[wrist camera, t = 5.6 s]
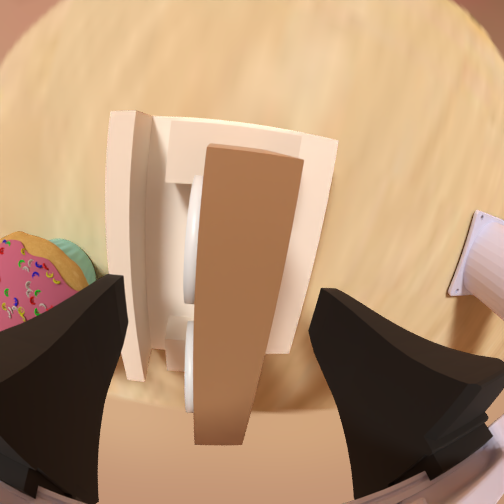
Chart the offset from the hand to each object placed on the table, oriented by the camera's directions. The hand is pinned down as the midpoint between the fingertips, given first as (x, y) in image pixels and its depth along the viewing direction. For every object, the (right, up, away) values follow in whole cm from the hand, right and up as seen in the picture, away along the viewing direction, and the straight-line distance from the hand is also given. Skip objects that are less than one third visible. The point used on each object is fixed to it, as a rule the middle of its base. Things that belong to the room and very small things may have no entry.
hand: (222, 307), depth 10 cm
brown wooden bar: (0, +1, +2) cm, 2 cm away
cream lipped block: (-1, +3, +6) cm, 6 cm away
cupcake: (-11, +1, +5) cm, 12 cm away
